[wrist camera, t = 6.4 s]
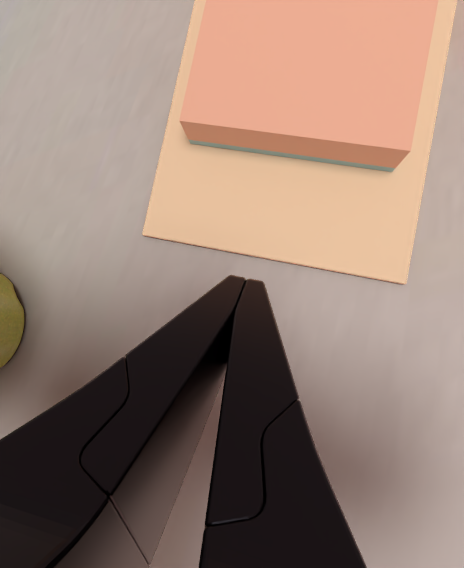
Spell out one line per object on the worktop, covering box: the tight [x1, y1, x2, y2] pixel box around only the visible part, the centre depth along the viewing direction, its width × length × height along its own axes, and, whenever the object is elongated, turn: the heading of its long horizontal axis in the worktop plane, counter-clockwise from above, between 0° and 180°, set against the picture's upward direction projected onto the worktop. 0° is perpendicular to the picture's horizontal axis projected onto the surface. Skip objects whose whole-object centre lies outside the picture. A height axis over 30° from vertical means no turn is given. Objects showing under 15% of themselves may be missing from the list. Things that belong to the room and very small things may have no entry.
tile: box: [179, 0, 438, 172], centre depth 15 cm, size 2×10×10 cm
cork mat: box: [142, 0, 457, 284], centre depth 16 cm, size 16×13×1 cm
